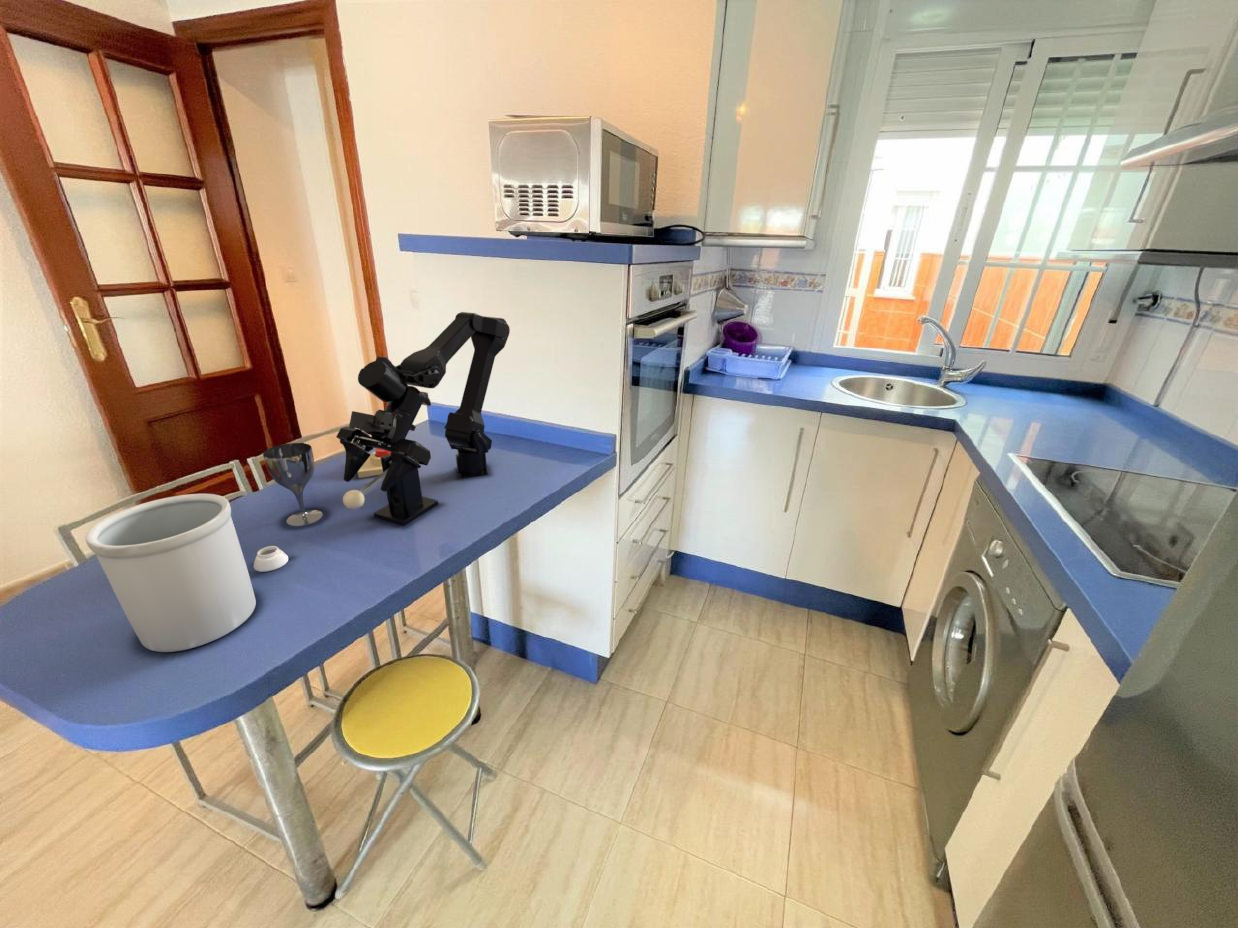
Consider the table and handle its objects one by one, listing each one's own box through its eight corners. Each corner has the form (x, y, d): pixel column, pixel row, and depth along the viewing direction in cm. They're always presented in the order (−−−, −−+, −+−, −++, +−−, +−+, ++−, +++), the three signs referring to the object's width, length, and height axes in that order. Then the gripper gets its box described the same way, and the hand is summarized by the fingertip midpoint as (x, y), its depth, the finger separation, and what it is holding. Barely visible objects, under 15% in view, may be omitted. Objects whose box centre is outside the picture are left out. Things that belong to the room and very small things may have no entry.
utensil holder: (127, 619, 74) (80, 516, 67) (246, 576, 85) (215, 483, 77) (142, 673, 65) (89, 562, 58) (273, 618, 75) (241, 517, 68)
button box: (411, 456, 132) (409, 444, 131) (412, 471, 124) (410, 458, 123) (360, 462, 128) (358, 449, 127) (358, 478, 120) (356, 464, 118)
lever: (356, 515, 92) (349, 499, 90) (342, 510, 93) (335, 495, 91) (413, 469, 103) (408, 454, 101) (400, 465, 104) (395, 451, 102)
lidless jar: (273, 554, 90) (247, 570, 86) (269, 540, 89) (242, 556, 85) (295, 559, 89) (270, 575, 85) (291, 545, 88) (266, 561, 84)
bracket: (404, 526, 100) (394, 468, 95) (374, 518, 103) (363, 461, 98) (438, 505, 109) (431, 450, 104) (409, 497, 112) (401, 444, 106)
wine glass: (336, 514, 104) (320, 447, 98) (299, 532, 97) (280, 461, 91) (310, 505, 107) (293, 440, 101) (273, 522, 100) (253, 453, 94)
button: (392, 452, 127) (391, 445, 126) (392, 457, 124) (391, 450, 123) (376, 453, 126) (375, 447, 125) (376, 459, 123) (375, 452, 122)
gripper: (335, 386, 95) (294, 459, 90) (411, 399, 89) (372, 479, 84) (374, 414, 105) (339, 482, 100) (446, 428, 99) (412, 501, 94)
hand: (364, 485), depth 94 cm, fingers open, 9 cm apart
